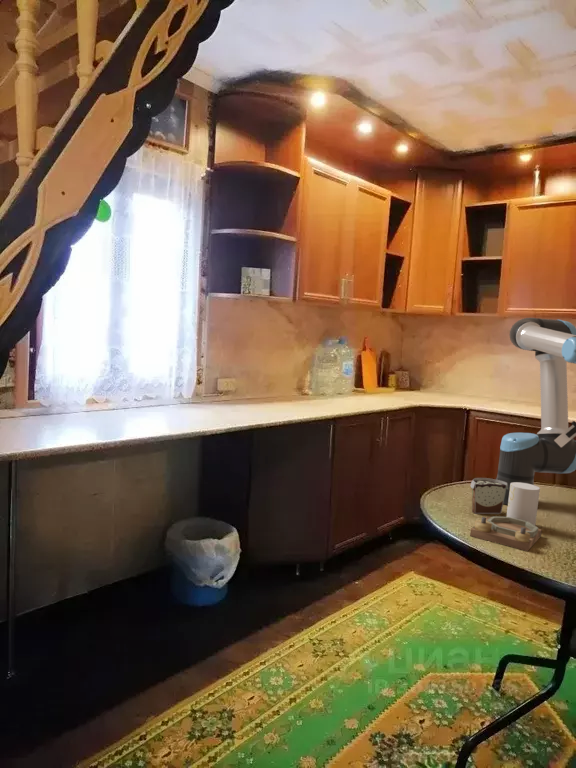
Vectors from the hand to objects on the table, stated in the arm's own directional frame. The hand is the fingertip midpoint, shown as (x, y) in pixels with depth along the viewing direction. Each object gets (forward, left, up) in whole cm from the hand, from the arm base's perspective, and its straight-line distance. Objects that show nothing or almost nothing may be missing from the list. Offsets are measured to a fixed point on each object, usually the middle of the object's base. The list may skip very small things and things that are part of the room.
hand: (558, 443), depth 169 cm
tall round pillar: (+3, -7, -26) cm, 27 cm away
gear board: (+17, -7, -26) cm, 32 cm away
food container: (-3, -20, -26) cm, 33 cm away
